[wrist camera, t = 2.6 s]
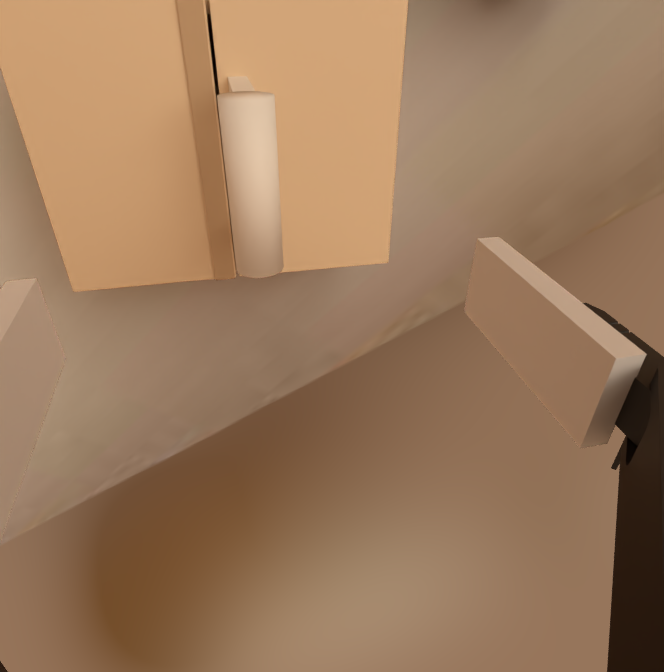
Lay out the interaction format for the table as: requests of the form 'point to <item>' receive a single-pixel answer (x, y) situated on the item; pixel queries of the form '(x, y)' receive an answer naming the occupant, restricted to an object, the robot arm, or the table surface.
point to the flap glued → (122, 136)
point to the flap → (309, 129)
